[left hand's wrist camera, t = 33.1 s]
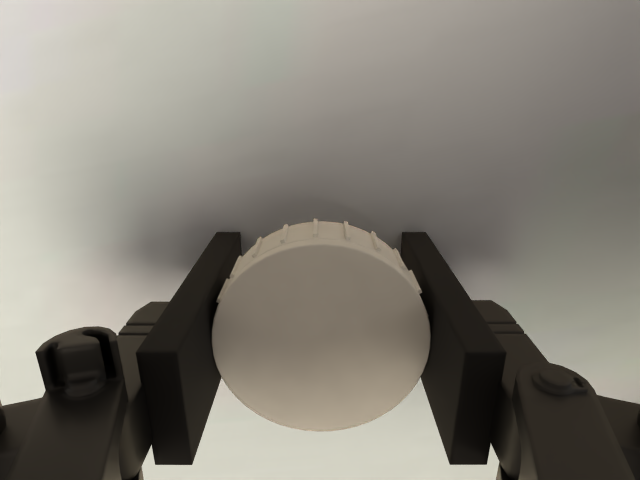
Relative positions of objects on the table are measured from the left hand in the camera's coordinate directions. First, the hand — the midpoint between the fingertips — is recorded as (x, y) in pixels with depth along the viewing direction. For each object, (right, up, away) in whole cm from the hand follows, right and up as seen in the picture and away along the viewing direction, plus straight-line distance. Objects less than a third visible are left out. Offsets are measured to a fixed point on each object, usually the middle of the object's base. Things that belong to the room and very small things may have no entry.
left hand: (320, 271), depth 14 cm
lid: (0, -1, -4) cm, 4 cm away
